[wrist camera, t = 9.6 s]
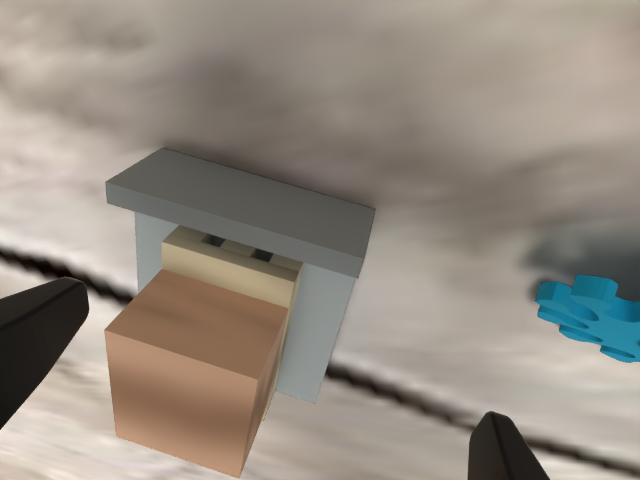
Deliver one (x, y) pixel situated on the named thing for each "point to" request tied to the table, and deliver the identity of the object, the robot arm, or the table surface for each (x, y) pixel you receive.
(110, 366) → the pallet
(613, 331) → the gear
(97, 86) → the table surface
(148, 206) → the dock
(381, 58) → the table surface
